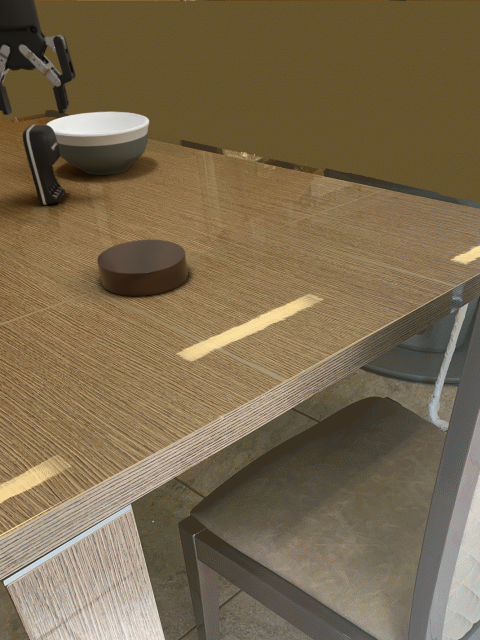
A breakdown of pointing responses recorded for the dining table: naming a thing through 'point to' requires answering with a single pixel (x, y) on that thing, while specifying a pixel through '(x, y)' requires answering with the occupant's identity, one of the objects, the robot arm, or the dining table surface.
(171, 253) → the brown round disc
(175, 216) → the dining table surface
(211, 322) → the dining table surface
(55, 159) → the battery charger
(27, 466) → the dining table surface
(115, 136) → the bowl
